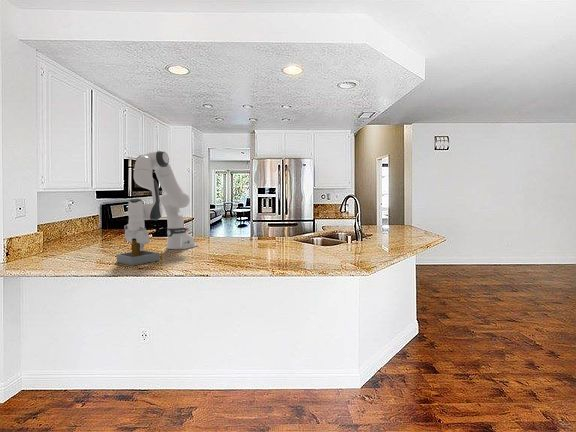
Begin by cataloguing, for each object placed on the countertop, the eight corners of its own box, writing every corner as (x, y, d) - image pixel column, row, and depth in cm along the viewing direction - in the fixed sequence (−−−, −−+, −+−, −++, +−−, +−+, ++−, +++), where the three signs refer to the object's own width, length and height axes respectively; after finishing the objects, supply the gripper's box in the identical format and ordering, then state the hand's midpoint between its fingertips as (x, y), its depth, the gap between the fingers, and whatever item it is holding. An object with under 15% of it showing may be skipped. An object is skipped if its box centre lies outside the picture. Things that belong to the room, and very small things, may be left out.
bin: (143, 257, 266) (143, 250, 265) (159, 261, 255) (159, 253, 255) (116, 262, 253) (116, 254, 252) (132, 265, 242) (131, 257, 241)
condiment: (133, 257, 257) (133, 237, 256) (147, 257, 257) (147, 237, 256) (129, 259, 250) (128, 239, 249) (143, 259, 250) (143, 239, 249)
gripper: (151, 227, 248) (152, 251, 249) (132, 225, 261) (133, 247, 262) (141, 228, 243) (142, 252, 244) (122, 226, 256) (123, 249, 257)
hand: (137, 250), depth 253 cm, fingers closed on condiment, 6 cm apart
